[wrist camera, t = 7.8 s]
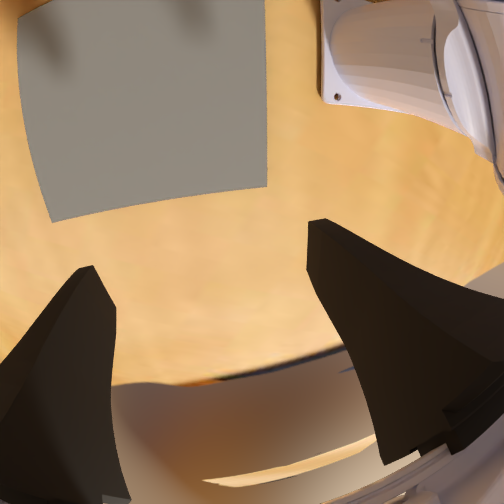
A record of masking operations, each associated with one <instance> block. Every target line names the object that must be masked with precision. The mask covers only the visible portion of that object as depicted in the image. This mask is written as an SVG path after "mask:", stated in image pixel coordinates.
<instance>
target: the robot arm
mask: <svg viewBox="0 0 504 504" xmlns="http://www.w3.org/2000/svg"><path fill="white" fill-rule="evenodd" d="M320 3H321V42H322V66H321V98H322V100H323V101H324V102H325V103H328V104H338V105H349V106H359V107H368V108H375V109H383V110H389V111H395V112H401V113H407V114H412V115H415V116H418V117H421V118H424V119H426V120H429V121H432V122H434V123H437V124H439V125H442V126H444V127H447V128H449V129H451V130H454V131H456V132H458V133H461V134H463V135H465V136H467V137H469V138H470V139H471V141H472V143H473V145H474V150H475V153H476V154H477V155H479V156H481V157H483V158H484V159H486V160H488V161H490V162H491V163H493V167H494V175H495V179H496V182H497V184H498V186H499V189H500V190H501V192H502V193H503V195H504V0H388V1H383V2H378V3H372V2H369V1H366V0H338V2H337V1H335V0H320ZM336 93H337V94H338V99H337V100H335V99H334V95H335V94H336ZM306 270H307V272H308V275H309V277H310V280H311V282H312V285H313V287H314V290H315V292H316V294H317V296H318V298H319V300H320V302H321V303H322V305H323V307H324V309H325V311H326V312H327V314H328V316H329V318H330V320H331V321H332V323H333V325H334V327H335V328H336V330H337V332H338V334H339V336H340V338H341V339H342V341H343V343H344V345H345V347H346V349H347V351H348V353H349V355H350V357H351V360H352V362H353V365H354V368H355V370H356V373H357V376H358V378H359V381H360V384H361V387H362V389H363V393H364V395H365V398H366V401H367V405H368V408H369V412H370V415H371V419H372V422H373V425H374V430H375V434H376V439H377V443H378V448H379V453H380V457H381V459H382V462H383V464H384V465H387V464H390V463H392V462H394V461H396V460H399V459H401V458H403V457H405V456H407V455H409V454H411V453H413V452H414V451H416V450H418V451H419V453H420V456H421V457H420V458H419V459H417V460H415V461H414V462H412V463H410V464H408V465H407V466H405V467H403V468H401V469H400V470H398V471H396V472H394V473H392V474H390V475H388V476H386V477H384V478H382V479H380V480H378V481H376V482H374V483H372V484H369V485H367V486H365V487H363V488H360V489H358V490H355V491H353V492H351V493H348V494H346V495H343V496H341V497H338V498H335V499H332V500H329V501H326V502H323V503H320V504H504V299H502V298H498V297H494V296H491V295H488V294H484V293H481V292H477V291H474V290H471V289H468V288H465V287H463V286H460V285H457V284H455V283H452V282H449V281H447V280H444V279H442V278H440V277H437V276H435V275H433V274H430V273H428V272H426V271H424V270H422V269H419V268H417V267H415V266H413V265H411V264H409V263H407V262H405V261H403V260H401V259H399V258H397V257H396V256H394V255H392V254H390V253H388V252H386V251H384V250H382V249H381V248H379V247H377V246H375V245H373V244H372V243H370V242H368V241H366V240H365V239H363V238H361V237H359V236H358V235H356V234H354V233H352V232H351V231H349V230H347V229H345V228H344V227H342V226H340V225H338V224H336V223H334V222H332V221H330V220H328V219H326V218H325V219H319V220H314V221H308V247H307V268H306ZM115 339H116V306H115V304H114V303H113V301H112V299H111V298H110V296H109V294H108V292H107V290H106V289H105V287H104V285H103V283H102V281H101V279H100V277H99V276H98V274H97V272H96V270H95V268H94V266H93V265H91V266H87V267H83V268H79V269H78V270H76V271H75V272H74V273H73V274H72V275H71V277H70V278H69V279H68V280H67V281H66V282H65V283H64V285H63V286H62V287H61V288H60V290H59V291H58V292H57V293H56V295H55V296H54V297H53V298H52V300H51V301H50V302H49V304H48V305H47V306H46V307H45V309H44V310H43V311H42V313H41V314H40V315H39V317H38V318H37V319H36V320H35V322H34V323H33V324H32V326H31V327H30V328H29V330H28V331H27V332H26V334H25V335H24V336H23V337H22V339H21V340H20V341H19V342H18V344H17V345H16V346H15V347H14V349H13V350H12V351H11V352H10V353H9V354H8V356H7V357H6V358H5V359H4V360H3V362H2V363H1V364H0V504H103V503H107V504H129V503H130V501H131V497H130V495H129V492H128V489H127V486H126V483H125V480H124V477H123V474H122V471H121V467H120V463H119V458H118V454H117V450H116V445H115V438H114V433H113V432H114V431H113V424H112V413H111V380H112V368H113V358H114V348H115ZM405 491H406V493H405V495H401V496H398V495H400V494H402V493H404V492H405ZM396 496H398V497H396Z"/></svg>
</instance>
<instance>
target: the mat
mask: <svg viewBox="0 0 504 504" xmlns="http://www.w3.org/2000/svg"><path fill="white" fill-rule="evenodd" d="M17 63H18V79H19V89H20V98H21V106H22V112H23V119H24V124H25V130H26V135H27V140H28V144H29V149H30V153H31V157H32V161H33V165H34V168H35V172H36V176H37V179H38V182H39V186H40V189H41V192H42V195H43V198H44V201H45V204H46V207H47V210H48V213H49V216H50V218H51V221H52V223H54V222H58V221H62V220H66V219H71V218H75V217H79V216H84V215H88V214H93V213H98V212H103V211H108V210H112V209H118V208H123V207H128V206H133V205H139V204H145V203H150V202H156V201H162V200H168V199H175V198H181V197H188V196H195V195H202V194H209V193H217V192H225V191H233V190H242V189H251V188H260V187H267V93H266V40H265V4H264V0H52V1H50V2H48V3H46V4H44V5H42V6H40V7H38V8H36V9H34V10H32V11H30V12H29V13H27V14H25V15H23V16H21V17H20V18H18V26H17Z"/></svg>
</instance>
